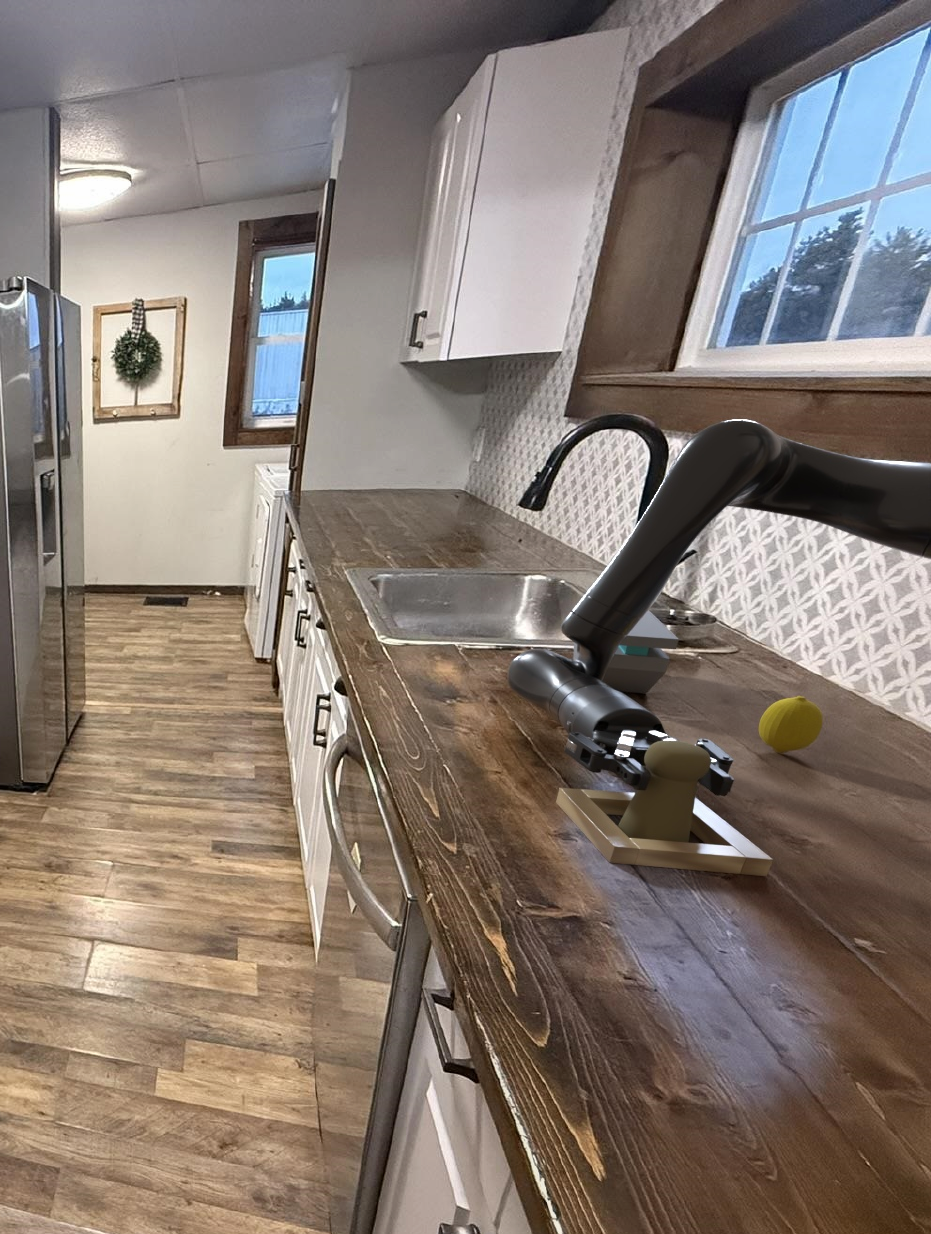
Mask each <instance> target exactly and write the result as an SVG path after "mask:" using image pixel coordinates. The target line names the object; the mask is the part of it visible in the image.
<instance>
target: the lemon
mask: <svg viewBox="0 0 931 1234" xmlns="http://www.w3.org/2000/svg"><path fill="white" fill-rule="evenodd" d="M823 720H824V718H823V713H822V710H821V709H820V707H818V705H817V704H815V703H814V702H813V701H810V700H808V699H806V697H805V696H801V695H797V696H795V697H787V698H783V699H780V700H779V699H778V700H777V701H775V702H773V703H772V704H771V705H769V707H767V708H766V709H765V711H764V712H763V714H762V716H761V718H760V720H759V723H758V724H759V725H758V735H759V737H760V739H761V740H762V741H763V743H765V744H766V745H767V746H769V747H771V748H772V749H773V750H774V752H775V753H777V754H785V753H786V752H787V753H788V752H792V751H799V750H801V749H804V748H807V747H809V746H810V745H812V744H813V743H814V742H815V741H816V740H817V738H818V737H819V736H820V733H821V731H822V728H823Z"/></svg>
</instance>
